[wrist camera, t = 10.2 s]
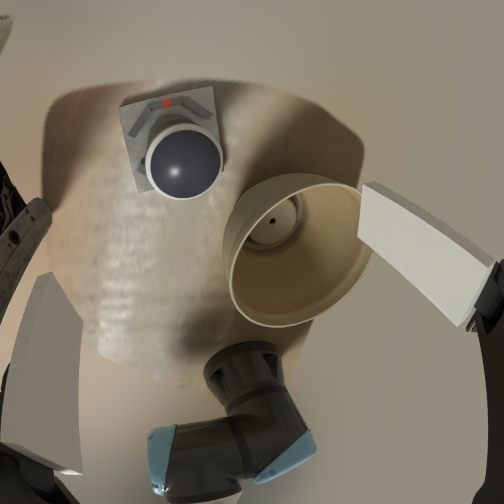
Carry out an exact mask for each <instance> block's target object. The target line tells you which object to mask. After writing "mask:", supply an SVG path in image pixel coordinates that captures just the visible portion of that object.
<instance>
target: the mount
mask: <svg viewBox="0 0 504 504" xmlns="http://www.w3.org/2000/svg"><path fill="white" fill-rule="evenodd" d="M118 111H119V116H120V121H121V125H122V130H123V134H124V139H125V143H126V147H127V152H128V156H129V160H130V163H131V167H132V171H133V175H134V179H135V182H136V186H137V189H138V193H143V192H146V191H149V190H153V189H155V188H154V187H153V186H152V185H151V183H150V181H149V179H148V177H147V173H146V147H147V136H148V133H149V130H150V128H151V127H152V125H153V124H154V123H155V122H156V121H157V120H159V119H160V118H162V117H164V116H167V115H172V114H177V115H182V116H185V117H187V118H189V119H190V120H192V121H193V122H195V123H196V124H198V125H199V126H201V127H203V128H204V129H206V130H207V131H209V132H210V133H211V134H212V135H213V136H214V137H215V138H216V139H217V141H218V142H219V144H220V139H219V131H218V124H217V117H216V109H215V102H214V94H213V86H210V87H203V88H197V89H192V90H187V91H181V92H177V93H172V94H167V95H163V96H159V97H155V98H151V99H147V100H143V101H139V102H136V103H132V104H129V105H126V106H122V107H119V108H118ZM223 171H224V167H223V166H222V170H221V172H223Z"/></svg>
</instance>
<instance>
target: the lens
mask: <svg viewBox="0 0 504 504" xmlns="http://www.w3.org/2000/svg"><path fill="white" fill-rule="evenodd" d="M222 166H223V153H222V149H221V146H220V144H219V142H218V141H217V139H216V138H215V137H214V136H213V135H212V134H211V133H210V132H209V131H207V130H206V129H204V128H203V127H201V126H199V125H198V124H196V123H195V122H193V121H192V120H190V119H189V118H187V117H185V116H182V115H177V114H172V115H167V116H164V117H162V118H160V119H159V120H157V121H156V122H155V123H154V124H153V125H152V127H151V128H150V130H149V133H148V136H147V147H146V173H147V177H148V179H149V181H150V183H151V185H152V186H153V187H154V188H155V189H156V190H157V191H158V192H159V193H160V194H162V195H164V196H166V197H168V198H171V199H176V200H187V199H192V198H195V197H198V196H200V195H202V194H203V193H205V192H206V191H208V190H209V189H210V188H211V187H212V186H213V185H214V184H215V182H216V181H217V179H218V178H219V176H220V173H221V170H222Z"/></svg>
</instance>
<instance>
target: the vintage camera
mask: <svg viewBox="0 0 504 504" xmlns="http://www.w3.org/2000/svg"><path fill="white" fill-rule="evenodd" d="M51 224H52V214H51V210H50V208H49V206H48V205H47V203H46V202H45V201H44V200H43V199H40V198H34V199H33V200H32V201H31V202H29V203H28V204H27V205H26V204H25V202H24V201H23V199H22V197H21V196H20V194H19V193H18V191H17V189H16V187H15V186H14V185H13V184H12V183H11V181H10V178H9V176H8V174H7V172H6V170H5V168H4V167H3V165H2V163H1V161H0V324H1V321H2V319H3V316H4V314H5V312H6V309H7V307H8V305H9V302H10V300H11V298H12V296H13V294H14V291H15V290H16V287H17V285H18V283H19V282H20V280H21V277H22V275H23V273H24V271H25V269H26V268H27V266H28V264H29V262H30V260H31V258H32V256H33V255H34V253H35V251H36V249H37V248H38V246H39V244H40V242H41V241H42V239H43V237H44V236H45V234H46V233H47V231H48V229H49V228H50V226H51Z"/></svg>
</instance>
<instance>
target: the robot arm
mask: <svg viewBox="0 0 504 504" xmlns="http://www.w3.org/2000/svg"><path fill="white" fill-rule="evenodd" d="M357 237H358V238H360V239H361V240H362V241H363V242H365V243H366V244H367V245H368V246H369V247H371V248H372V249H373V250H374V251H375V252H377V253H378V254H379V255H380V256H381V257H382V258H384V259H385V260H386V261H387V262H388V263H390V264H391V265H392V266H393V267H394V268H395V269H397V271H399V272H400V273H401V274H402V275H403V276H404V277H405V278H406V279H408V280H409V281H410V282H411V283H412V284H413V285H414V286H415V287H417V289H419V290H420V291H421V292H422V293H423V294H424V295H425V296H426V297H427V298H428V299H429V300H430V301H431V302H432V303H433V304H434V305H435V306H437V308H439V309H440V310H441V311H442V312H443V313H444V314H445V315H446V316H447V317H448V318H449V319H450V320H451V321H452V322H453V323H454V324H455V325H456V326H457V327H458V326H459V325H460V324H461V323H462V322H463V321H464V320H465V319H466V318H467V317H468V315H469V314H470V312H471V310H472V308H473V307H475V308H476V311H475V313H474V315H473V316H472V318H471V320H470V321H469V323H468V325H467V327H466V331H467V332H468V331H469V330H470V329H471V327H472V326H473V324H474V323H475V325H474V327H473V328H472V331H471V332H478V337H479V342H480V347H481V352H482V358H483V365H484V373H485V381H486V391H487V402H488V403H487V405H488V455H487V468H486V477H485V482H484V484H483V486H482V487H481V488H480V489H479V491H478V492H477V493H476V495H475V497H474V498H473V502H472V504H504V259H503V260H501V262H500V263H498V262H497V261H496V260H495V259H493V258H492V257H491V256H490V255H488V254H487V253H486V252H485V251H483V250H482V249H481V248H479V247H478V246H477V245H475V244H474V243H473V242H471V241H470V240H469V239H467V238H466V237H464V236H463V235H462V234H460V233H459V232H457V231H456V230H454V229H453V228H451V227H450V226H449V225H447V224H446V223H444V222H443V221H441V220H440V219H438V218H436V217H435V216H433V215H432V214H430V213H429V212H427V211H425V210H424V209H422V208H420V207H419V206H417V205H416V204H414V203H412V202H411V201H409V200H407V199H405V198H404V197H402V196H400V195H399V194H397V193H395V192H393V191H391V190H390V189H388V188H386V187H384V186H382V185H380V184H378V183H376V182H370V183H365V184H363V186H362V198H361V208H360V218H359V227H358V235H357ZM82 329H83V320H82V319H81V317H80V316H79V315H78V313H77V312H76V310H75V309H74V307H73V306H72V304H71V302H70V301H69V299H68V298H67V296H66V295H65V293H64V291H63V290H62V288H61V286H60V285H59V283H58V281H57V280H56V278H55V276H54V275H53V273H52V272H49V273H46V274H43V275H41V276H38V277H37V279H36V282H35V284H34V287H33V289H32V292H31V294H30V297H29V300H28V303H27V306H26V308H25V312H24V314H23V318H22V321H21V324H20V327H19V331H18V334H17V337H16V341H15V345H14V349H13V353H12V357H11V361H10V363H9V365H8V367H7V369H6V371H5V373H4V375H3V380H2V385H1V391H2V392H0V504H80V503H79V502H78V501H77V500H76V499H75V498H74V496H73V495H72V494H71V493H70V491H69V490H68V489H67V488H66V487H65V485H64V484H63V483H62V482H61V480H59V479H58V478H57V477H56V476H54V472H53V469H54V470H56V471H58V472H61V473H63V474H69V475H83V467H82V458H81V449H80V437H79V417H78V384H79V382H78V381H79V361H80V348H81V338H82ZM203 374H204V378H205V381H206V384H207V386H208V388H209V389H210V391H211V392H212V393H213V395H214V396H215V397H216V398H217V400H218V401H219V402H220V403H221V405H222V406H223V407H224V408H225V411H226V413H227V416H228V417H223V418H218V419H212V420H207V421H201V422H196V423H188V424H182V425H177V424H174V425H172V426H166V427H159V428H155V429H152V430H151V431H150V432H149V434H148V437H147V460H148V469H149V475H150V480H151V482H152V488H153V491H154V492H155V493H156V494H159V495H164V494H165V496H166V499H167V502H168V504H237V500H238V498H239V497H240V495H241V494H242V488H241V486H240V483H239V481H242V480H245V479H249V478H252V481H253V482H255V483H256V484H261V483H264V482H266V481H269V480H271V479H273V478H275V477H278V476H280V475H282V474H284V473H286V472H288V471H290V470H291V469H293V468H295V467H297V466H298V465H300V464H302V463H303V462H305V461H306V460H308V459H309V458H311V457H312V456H313V455H314V454H315V452H316V443H315V441H314V439H313V437H312V434H311V430H310V429H308V427H307V425H306V423H305V422H304V420H303V418H302V416H301V414H300V412H299V410H298V409H297V407H296V405H295V403H294V401H293V400H292V398H291V396H290V394H289V392H288V390H287V388H286V386H285V382H284V374H283V366H282V360H281V357H280V355H279V353H278V351H277V349H276V347H275V346H274V345H272V344H270V343H267V342H262V341H253V342H246V343H242V344H238V345H235V346H232V347H230V348H228V349H225V350H224V351H222V352H220V353H218V354H217V355H216V356H214V357H213V358H212V359H211V360H210V361H209V362H208V363H207V365H206V366H205V368H204V372H203Z"/></svg>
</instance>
